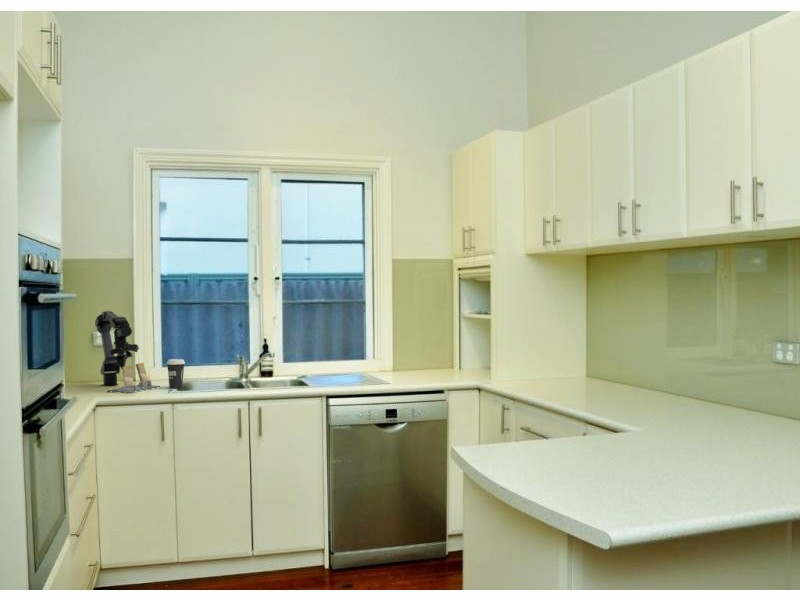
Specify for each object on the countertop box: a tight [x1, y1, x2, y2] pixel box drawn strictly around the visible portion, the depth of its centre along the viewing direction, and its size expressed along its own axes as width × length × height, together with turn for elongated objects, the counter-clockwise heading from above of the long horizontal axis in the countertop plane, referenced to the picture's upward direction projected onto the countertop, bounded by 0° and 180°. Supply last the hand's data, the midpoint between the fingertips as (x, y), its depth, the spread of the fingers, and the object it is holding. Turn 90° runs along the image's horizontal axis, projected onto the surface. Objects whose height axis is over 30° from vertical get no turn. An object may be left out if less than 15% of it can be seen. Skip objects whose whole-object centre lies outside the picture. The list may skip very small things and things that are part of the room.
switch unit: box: [106, 380, 161, 394], centre depth 349 cm, size 14×23×3 cm, turn 160°
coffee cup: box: [166, 358, 186, 390], centre depth 355 cm, size 10×10×15 cm
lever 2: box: [135, 362, 149, 383], centre depth 357 cm, size 2×4×10 cm, turn 160°
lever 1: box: [121, 365, 135, 387], centre depth 342 cm, size 2×4×10 cm, turn 129°
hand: (123, 369), depth 350 cm, fingers closed
